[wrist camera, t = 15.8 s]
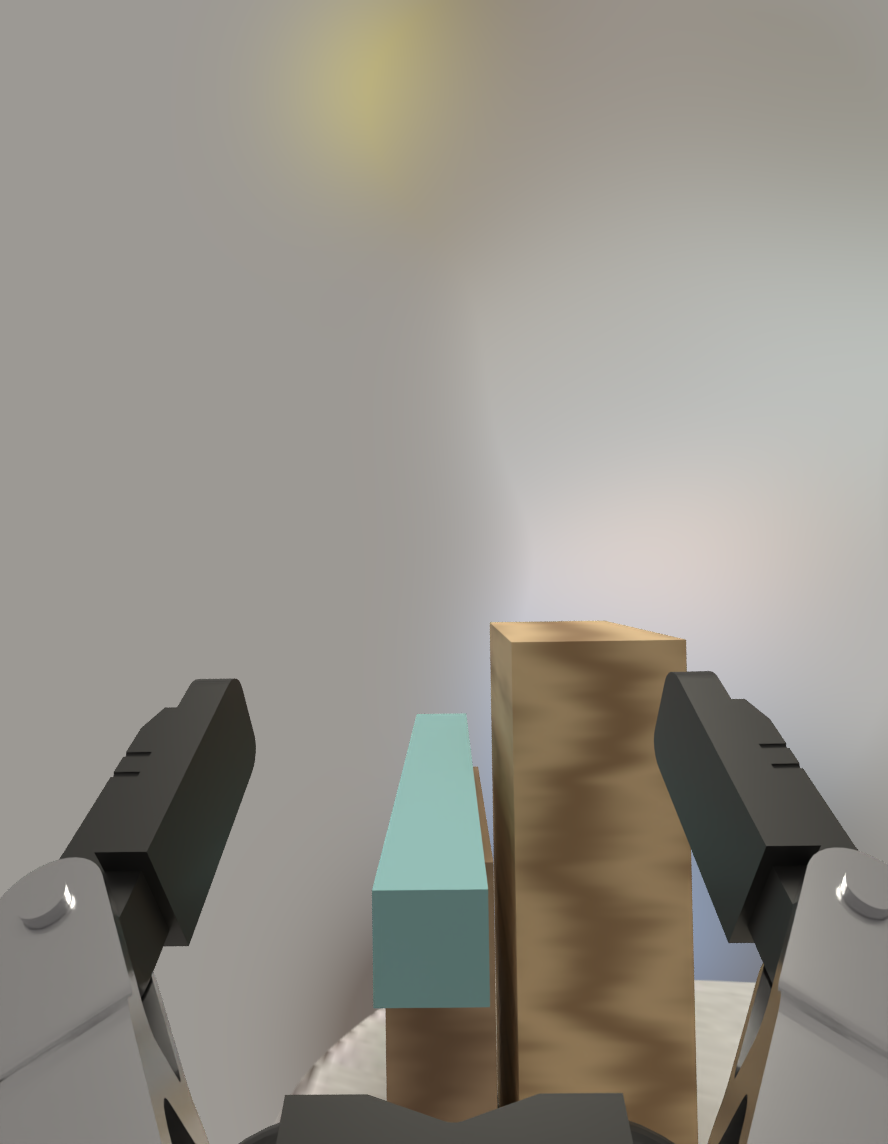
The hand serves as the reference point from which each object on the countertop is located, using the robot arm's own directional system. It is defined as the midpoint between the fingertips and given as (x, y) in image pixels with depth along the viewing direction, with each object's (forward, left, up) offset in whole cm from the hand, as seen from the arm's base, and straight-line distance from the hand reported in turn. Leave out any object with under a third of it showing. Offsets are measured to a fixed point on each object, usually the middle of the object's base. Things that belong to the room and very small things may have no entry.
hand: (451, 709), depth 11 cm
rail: (+1, -19, -10) cm, 21 cm away
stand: (-7, -23, -32) cm, 40 cm away
